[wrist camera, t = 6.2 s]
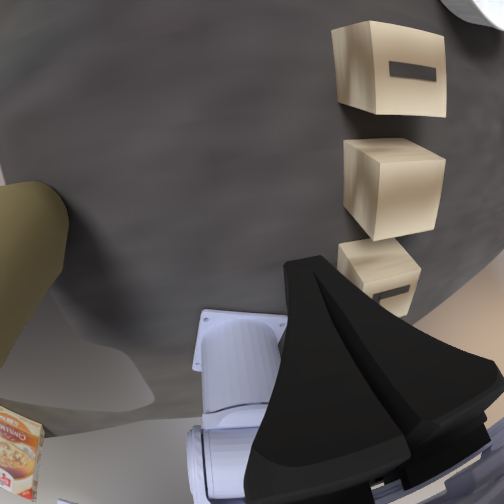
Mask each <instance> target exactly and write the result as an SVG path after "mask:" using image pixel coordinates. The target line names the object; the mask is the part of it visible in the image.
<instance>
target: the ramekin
mask: <svg viewBox="0 0 504 504" xmlns="http://www.w3.org/2000/svg"><path fill="white" fill-rule="evenodd" d="M440 1H441V2H442V3H443V4H444V5H445V6H446V7H447V8H448V9H449V10H450V11H451V12H452V13H453V14H454V15H456V16H457V17H459V18H460V19H462V20H464V21H466V22H469V23H473V24H479V25H484V26H490V27H494V28H496V29H498V30H501V31H504V0H440Z"/></svg>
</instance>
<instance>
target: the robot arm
mask: <svg viewBox="0 0 504 504" xmlns="http://www.w3.org/2000/svg"><path fill="white" fill-rule="evenodd" d="M283 267H284V281H285V295H286V305H287V309H288V316H286V315H274V314H259V313H245V312H233V311H221V310H211V309H205V310H203V311H202V312H201V317H200V322H199V328H198V334H197V340H196V346H195V352H194V358H193V365H192V369H193V370H195V371H202V395H203V415H202V418H203V429H201V426H200V425H199V426H198V425H195V426H193V428H192V429H191V430H190V431H189V432H188V433H187V462H188V475H189V483H190V489H191V493H192V494H193V498H194V504H388V503H390V502H393V501H395V500H397V499H399V498H402V497H404V496H406V495H409V494H411V493H413V492H415V491H417V490H419V489H421V488H423V487H425V486H427V485H429V484H431V483H432V482H434V481H436V480H438V479H440V478H442V477H443V476H445V475H447V474H449V473H450V472H452V471H454V470H455V469H457V468H459V467H460V466H462V465H463V464H465V463H467V462H468V461H470V460H471V459H473V458H474V457H475V456H477V455H479V454H480V453H481V452H482V454H481V458H480V459H479V460H478V461H476V462H474V463H473V464H471V465H469V466H468V467H466V468H464V469H462V470H461V471H459V472H458V473H456V474H454V475H453V476H452V477H450V478H449V479H447V480H446V481H445V482H444V484H445V486H446V489H445V490H443V491H441V492H440V493H438V494H436V495H434V496H432V497H430V498H428V499H426V500H424V501H422V502H420V503H418V504H504V418H502V419H501V420H500V421H498V422H497V423H496V424H494V425H493V426H492V427H490V428H489V429H487V430H486V428H485V425H484V422H486V421H487V417H486V415H485V413H484V410H486V409H487V408H488V407H489V406H490V405H491V404H492V403H493V402H494V401H495V400H496V399H497V398H498V397H499V396H500V395H501V394H502V393H503V392H504V377H503V375H502V374H501V372H500V370H499V369H498V367H497V366H496V364H495V362H494V361H492V360H489V359H486V358H483V357H480V356H477V355H474V354H471V353H468V352H465V351H463V350H460V349H458V348H456V347H453V346H451V345H448V344H446V343H444V342H442V341H440V340H437V339H436V338H434V337H431V336H430V335H428V334H426V333H424V332H422V331H420V330H418V329H417V328H415V327H413V326H411V325H410V324H408V323H406V322H405V321H403V320H402V319H400V318H399V317H397V316H395V315H394V314H392V313H391V312H389V311H388V310H386V309H385V308H384V307H382V306H381V305H380V304H378V303H377V302H376V301H374V300H373V299H372V298H370V297H369V296H368V295H366V294H365V293H364V292H363V291H362V290H360V289H359V288H358V287H357V286H356V285H354V284H353V283H352V282H351V281H350V280H348V279H347V278H346V277H345V276H344V275H343V274H341V273H340V272H339V271H338V270H337V269H336V268H335V267H334V266H332V265H331V264H330V263H329V262H328V261H327V260H326V259H325V258H323V257H322V256H321V255H319V256H314V257H309V258H304V259H298V260H293V261H288V262H286V263H285V264H284V265H283ZM205 318H207V319H205ZM282 323H283V324H282ZM286 326H287V329H286V336H285V342H284V348H283V353H282V358H281V357H280V353H279V349H278V343H279V341H280V339H281V337H282V335H283V333H284V331H285V328H286ZM383 482H384V486H381V487H379V488H376V489H373V490H371V487H372V486H375V485H377V484H380V483H383ZM57 504H77V503H73V502H69V501H66V500H62V499H58V500H57Z"/></svg>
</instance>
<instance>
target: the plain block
mask: <svg viewBox="0 0 504 504" xmlns="http://www.w3.org/2000/svg"><path fill="white" fill-rule="evenodd" d="M445 161H446V160H445V159H443V158H442V157H440V156H438V155H436V154H434V153H432V152H430V151H429V150H427V149H425V148H423V147H421V146H419V145H417V144H415V143H413V142H411V141H409V140H407V139H404V138H377V139H356V140H344V196H343V206H344V207H345V208H346V209H347V210H348V212H349V213H350V214H351V215H352V216H353V217H354V219H355V220H356V221H357V222H358V223H359V224H360V226H361V227H362V228H363V229H364V230H365V232H366V233H367V234H368V235H369V237H370V238H371V239H372V240H373V241H378V240H383V239H388V238H393V237H398V236H403V235H408V234H413V233H418V232H423V231H428V230H433V229H434V226H435V221H436V217H437V212H438V206H439V201H440V195H441V189H442V183H443V176H444V169H445Z"/></svg>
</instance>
